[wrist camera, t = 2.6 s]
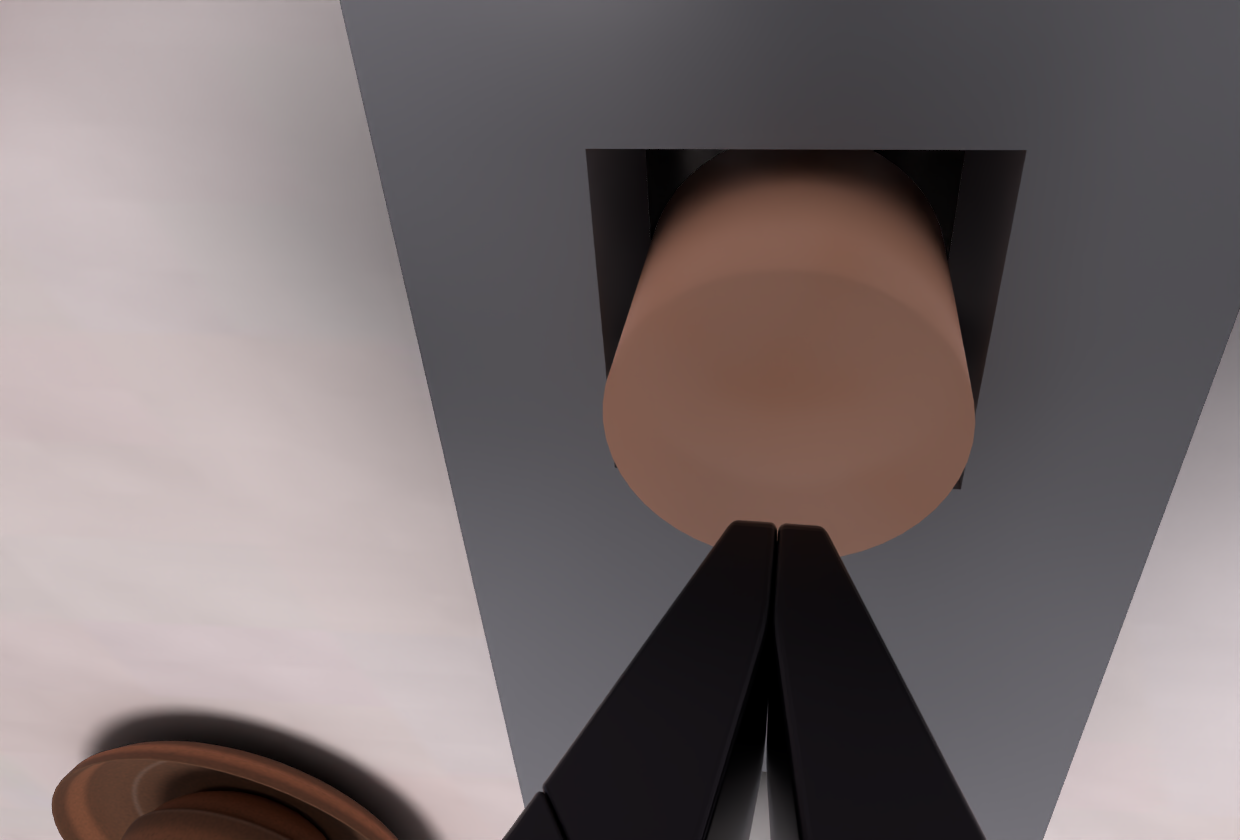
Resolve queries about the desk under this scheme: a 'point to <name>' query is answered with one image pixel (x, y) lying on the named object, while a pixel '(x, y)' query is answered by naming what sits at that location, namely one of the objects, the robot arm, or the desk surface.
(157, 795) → the cup and saucer
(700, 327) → the terracotta plug
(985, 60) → the plug block
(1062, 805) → the desk surface
